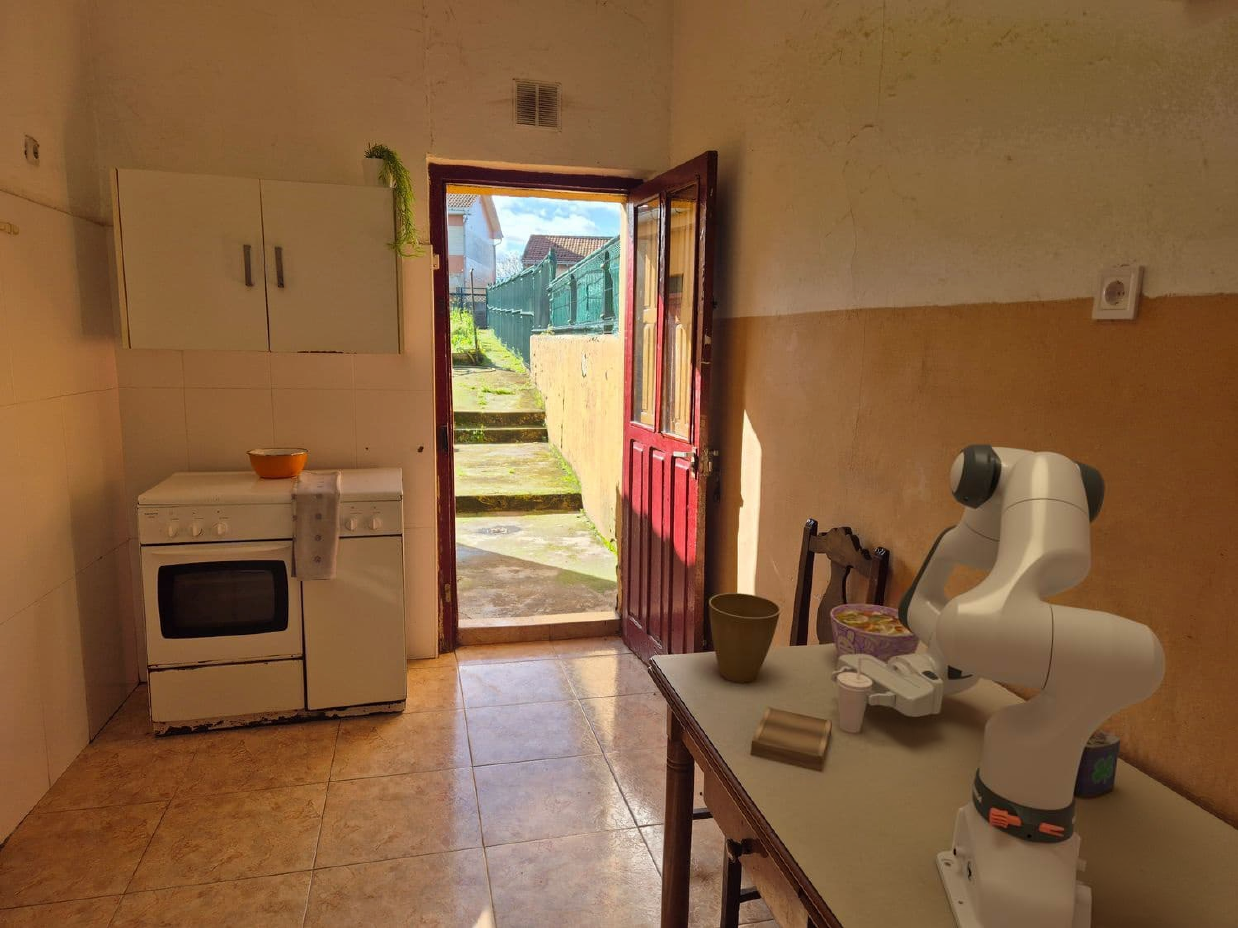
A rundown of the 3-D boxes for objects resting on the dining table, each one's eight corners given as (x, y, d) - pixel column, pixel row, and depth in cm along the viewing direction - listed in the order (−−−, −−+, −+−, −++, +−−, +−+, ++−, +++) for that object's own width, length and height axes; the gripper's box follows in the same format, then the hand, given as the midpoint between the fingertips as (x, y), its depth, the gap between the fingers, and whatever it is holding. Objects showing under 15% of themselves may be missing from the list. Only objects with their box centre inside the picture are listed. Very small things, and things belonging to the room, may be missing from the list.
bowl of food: (822, 677, 167) (827, 626, 165) (828, 644, 186) (832, 598, 184) (921, 695, 161) (927, 642, 159) (917, 659, 180) (922, 611, 178)
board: (821, 771, 130) (823, 756, 129) (750, 754, 134) (751, 739, 134) (831, 733, 143) (832, 719, 142) (765, 719, 147) (767, 706, 146)
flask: (1102, 781, 131) (1111, 722, 129) (1119, 790, 128) (1129, 730, 127) (1065, 792, 127) (1074, 731, 125) (1082, 802, 125) (1092, 740, 123)
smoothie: (867, 739, 141) (874, 666, 139) (831, 732, 143) (838, 660, 141) (868, 723, 147) (875, 653, 145) (833, 716, 149) (840, 647, 147)
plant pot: (693, 680, 163) (698, 607, 160) (718, 656, 176) (723, 588, 173) (762, 697, 156) (768, 622, 153) (782, 671, 169) (788, 601, 166)
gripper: (871, 642, 158) (816, 650, 153) (950, 684, 140) (891, 695, 134) (868, 672, 159) (813, 680, 154) (946, 717, 141) (887, 729, 135)
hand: (850, 688), depth 144 cm, fingers open, 8 cm apart
